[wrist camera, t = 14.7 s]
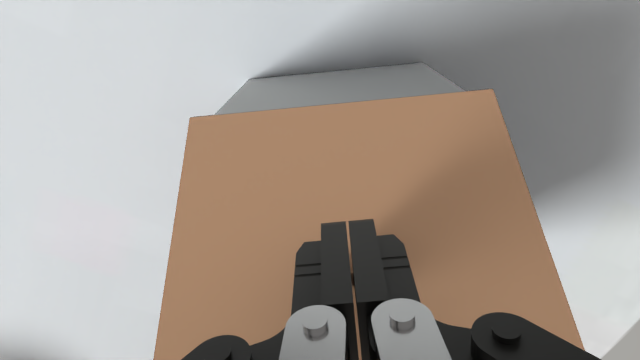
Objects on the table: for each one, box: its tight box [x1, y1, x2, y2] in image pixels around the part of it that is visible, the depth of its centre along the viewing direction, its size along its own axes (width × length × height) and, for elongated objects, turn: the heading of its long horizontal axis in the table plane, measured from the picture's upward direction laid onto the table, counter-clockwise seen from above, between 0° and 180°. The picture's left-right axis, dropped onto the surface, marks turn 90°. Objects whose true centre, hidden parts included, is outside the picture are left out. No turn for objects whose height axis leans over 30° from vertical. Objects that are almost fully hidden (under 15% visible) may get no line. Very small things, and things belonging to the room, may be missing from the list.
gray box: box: [215, 62, 465, 115], centre depth 28 cm, size 14×12×13 cm
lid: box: [153, 89, 585, 360], centre depth 15 cm, size 14×12×2 cm
